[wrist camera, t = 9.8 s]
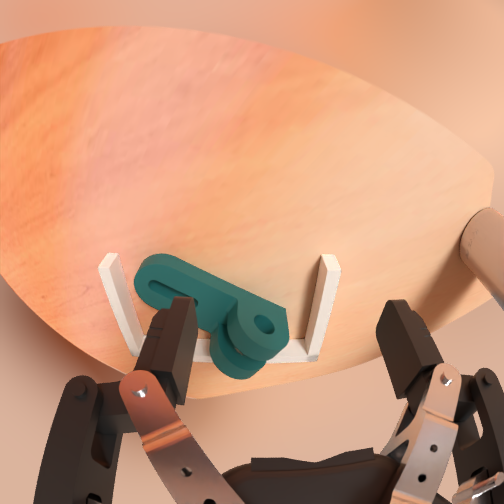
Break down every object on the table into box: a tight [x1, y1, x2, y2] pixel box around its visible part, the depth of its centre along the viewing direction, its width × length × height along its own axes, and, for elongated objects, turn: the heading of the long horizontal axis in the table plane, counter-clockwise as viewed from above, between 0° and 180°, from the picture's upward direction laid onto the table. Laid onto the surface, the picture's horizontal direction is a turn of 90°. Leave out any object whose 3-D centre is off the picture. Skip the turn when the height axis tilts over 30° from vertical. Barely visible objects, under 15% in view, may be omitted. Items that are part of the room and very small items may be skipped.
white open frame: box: [98, 253, 341, 363], centre depth 33 cm, size 26×16×3 cm, turn 89°
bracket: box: [134, 254, 289, 379], centre depth 30 cm, size 18×7×8 cm, turn 58°
